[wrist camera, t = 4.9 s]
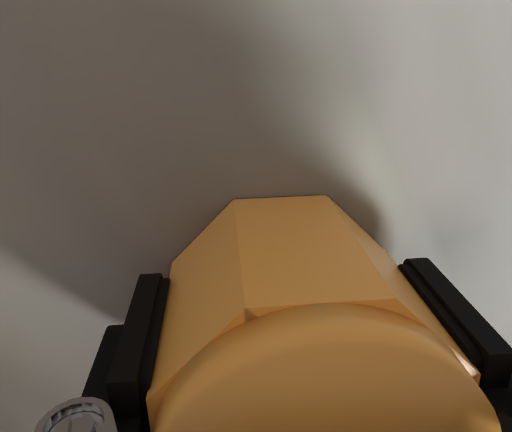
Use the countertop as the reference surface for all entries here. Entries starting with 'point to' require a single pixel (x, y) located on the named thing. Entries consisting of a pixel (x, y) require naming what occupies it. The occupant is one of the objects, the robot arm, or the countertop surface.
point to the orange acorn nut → (304, 333)
